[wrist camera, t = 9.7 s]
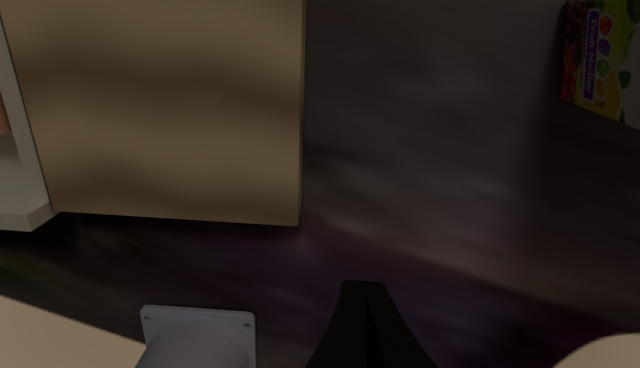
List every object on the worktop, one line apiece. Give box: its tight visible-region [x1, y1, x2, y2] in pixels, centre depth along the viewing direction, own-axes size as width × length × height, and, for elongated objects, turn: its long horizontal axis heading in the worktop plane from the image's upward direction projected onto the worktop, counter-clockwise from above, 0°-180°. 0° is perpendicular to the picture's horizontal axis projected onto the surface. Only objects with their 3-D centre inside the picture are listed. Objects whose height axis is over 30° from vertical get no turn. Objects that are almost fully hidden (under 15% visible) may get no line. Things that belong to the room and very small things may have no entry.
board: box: [0, 0, 306, 226], centre depth 19 cm, size 14×14×2 cm
